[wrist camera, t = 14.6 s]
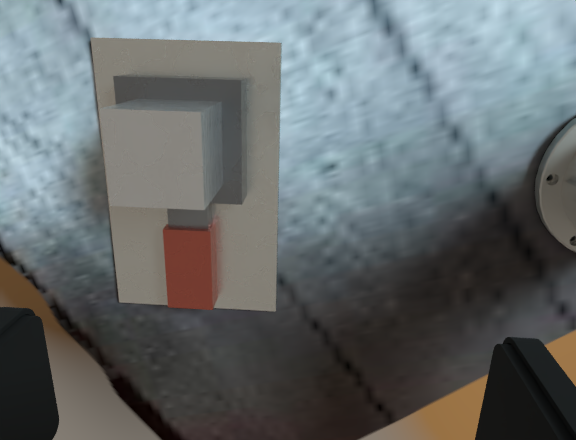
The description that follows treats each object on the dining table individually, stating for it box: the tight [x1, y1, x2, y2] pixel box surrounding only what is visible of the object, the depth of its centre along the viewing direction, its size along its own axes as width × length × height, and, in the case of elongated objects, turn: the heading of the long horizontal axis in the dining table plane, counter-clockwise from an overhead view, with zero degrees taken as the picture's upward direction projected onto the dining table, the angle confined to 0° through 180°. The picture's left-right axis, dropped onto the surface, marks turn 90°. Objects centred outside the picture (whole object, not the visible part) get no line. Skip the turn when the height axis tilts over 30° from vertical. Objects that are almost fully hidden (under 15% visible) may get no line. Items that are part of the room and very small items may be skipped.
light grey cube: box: [100, 99, 223, 210], centre depth 31 cm, size 6×6×6 cm
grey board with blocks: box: [91, 38, 282, 311], centre depth 35 cm, size 14×22×7 cm, turn 178°
